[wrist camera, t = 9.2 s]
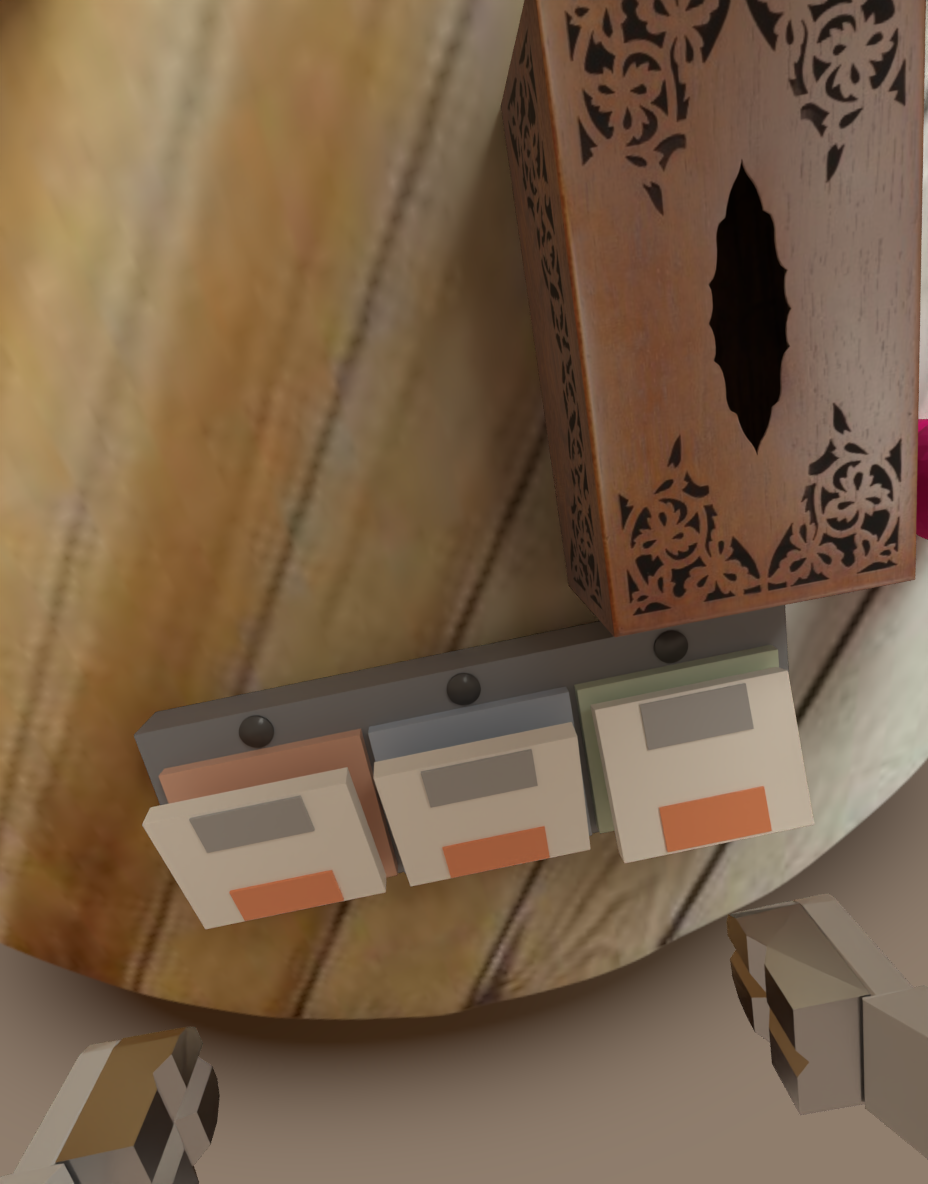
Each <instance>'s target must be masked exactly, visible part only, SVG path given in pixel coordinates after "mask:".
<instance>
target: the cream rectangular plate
mask: <svg viewBox="0 0 928 1184" xmlns="http://www.w3.org/2000/svg"><path fill="white" fill-rule="evenodd" d="M374 781H375V784H376V787H377V790H378V793H379V796H380V799H381V802H382V805H383V808H384V810H385V813H386V816H387V819H388V822H389V825H390V828H391V831H392V834H393V837H394V840H395V843H396V846H397V848H398V851H399V854H400V857H401V860H402V863H403V866H404V869H405V872H406V875H407V878H408V881H409V883H410V886H416V885H420V884H425V883H430V882H435V881H440V880H445V879H450V878H455V877H459V876H464V875H469V874H474V873H479V872H484V871H489V870H494V869H498V868H503V867H508V866H513V865H518V864H523V863H528V862H533V861H537V860H542V859H547V858H552V857H557V856H562V855H567V854H572V853H576V852H581V851H586V850H591V849H590V840H589V832H588V823H587V815H586V806H585V798H584V789H583V781H582V772H581V764H580V755H579V747H578V738H577V734H576V732H575V729H574V727H573V724H572V722H568V723H563V724H559V725H554V726H549V727H544V728H539V729H534V730H529V731H524V732H519V733H515V734H510V735H505V736H500V737H495V738H490V739H485V740H480V741H476V742H471V743H466V744H461V745H456V746H451V747H446V748H441V749H436V750H432V751H427V752H422V753H417V754H412V755H407V756H402V757H397V758H392V759H388V760H383V761H378V762H374Z"/></svg>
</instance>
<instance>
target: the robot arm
mask: <svg viewBox="0 0 928 1184" xmlns="http://www.w3.org/2000/svg"><path fill="white" fill-rule="evenodd" d="M727 933H728V937H729V938H730V940H731V942H732V943H733V945H734V947H735V949H736V951H735V952H734V954H733V955H732V957H731V958H730V962H731V969H732V977H733V981H734V984H735V987H736V991H737V994H738V998H739V1000H740V1002H741V1005H742V1007H743V1009H744V1012H745V1014H746V1016H747V1018H748V1020H749V1022H750V1024H751V1026H752V1027H753V1029H754V1031H755V1033H757V1034H758V1035H760V1036H761V1037H763V1038H764V1039H766V1040H767V1041H769V1042H770V1047H771V1057H772V1065H773V1066H774V1068H775V1070H776V1072H777V1074H778V1076H779V1077H780V1079H781V1081H782V1083H783V1084H784V1087H785V1088H786V1090H787V1092H788V1094H789V1096H790V1098H791V1099H792V1101H793V1103H794V1105H795V1107H796V1108H797V1110H798V1112H799V1114H800V1115H804V1114H809V1113H816V1112H821V1111H827V1110H833V1109H839V1108H845V1107H851V1106H856V1105H862V1104H865V1109H867V1110H868V1111H869V1112H870V1113H872V1114H873V1115H874V1116H875V1117H876V1118H878V1119H879V1120H880V1121H881V1122H883V1123H884V1124H885V1125H886V1126H887V1127H889V1128H890V1129H891V1130H893V1131H894V1132H895V1133H896V1134H897V1135H899V1136H900V1137H901V1138H902V1139H904V1140H905V1141H906V1142H907V1143H908V1144H910V1145H911V1146H912V1147H913V1148H915V1149H916V1150H917V1151H918V1152H919V1153H921V1154H922V1155H923V1156H924V1157H926V1158H927V1159H928V987H926V986H918V987H913V986H912V985H911V984H910V983H909V982H908V981H907V980H906V978H904V976H903V975H902V974H901V973H900V972H899V970H898V969H897V968H896V967H895V966H894V965H893V964H892V962H891V961H890V960H889V959H888V958H887V957H886V956H885V954H884V953H883V952H882V951H881V950H880V949H879V948H878V946H877V945H876V944H875V943H874V942H873V941H872V940H871V938H870V937H869V936H868V935H867V934H866V933H865V932H864V930H863V929H862V928H861V927H860V926H859V925H858V924H857V923H856V921H855V920H854V919H853V918H852V917H851V916H850V914H849V913H848V912H847V911H846V910H845V909H844V908H843V907H842V905H841V904H840V903H839V902H838V901H837V900H836V899H835V898H834V897H833V896H831V895H829V894H827V893H826V894H821V895H816V896H812V897H807V898H802V899H797V900H794V901H787V902H783V903H778V904H773V905H769V906H764V907H760V908H755V909H751V910H746V911H742V912H737V913H732V914H728V918H727ZM202 1045H203V1042H202V1040H201V1038H200V1036H199V1034H198V1032H197V1030H196V1027H184V1028H178V1029H172V1030H167V1031H161V1032H156V1033H150V1034H144V1035H138V1036H133V1037H128V1038H123V1039H119V1040H114V1041H108V1042H103V1043H97V1044H92V1045H90V1046H89V1047H88V1048H87V1049H86V1050H85V1051H83V1052H82V1053H81V1054H80V1055H79V1057H78V1058H77V1060H76V1062H75V1064H74V1066H73V1067H72V1069H71V1071H70V1073H69V1074H68V1076H67V1078H66V1080H65V1082H64V1083H63V1085H62V1087H61V1089H60V1090H59V1092H58V1094H57V1096H56V1097H55V1099H54V1101H53V1103H52V1105H51V1107H50V1108H49V1110H48V1112H47V1114H46V1115H45V1117H44V1119H43V1121H42V1122H41V1124H40V1126H39V1128H38V1130H37V1132H36V1133H35V1135H34V1137H33V1138H32V1140H31V1142H30V1144H29V1146H28V1147H27V1149H26V1151H25V1153H24V1155H23V1156H22V1158H21V1160H20V1162H19V1163H18V1165H17V1167H16V1169H15V1171H14V1172H13V1174H8V1175H4V1176H1V1177H0V1184H199V1181H198V1177H197V1174H196V1171H195V1168H194V1165H195V1164H196V1162H197V1161H198V1160H199V1158H200V1157H201V1156H202V1154H203V1153H204V1152H205V1151H206V1150H207V1148H208V1147H209V1146H210V1144H211V1141H212V1138H213V1134H214V1131H215V1127H216V1124H217V1117H218V1107H219V1088H218V1081H217V1077H216V1074H215V1072H214V1069H213V1066H212V1065H210V1064H209V1063H207V1062H205V1061H204V1060H202V1059H201V1058H199V1057H198V1056H199V1053H200V1051H201V1048H202Z"/></svg>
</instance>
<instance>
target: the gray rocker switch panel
mask: <svg viewBox="0 0 928 1184" xmlns="http://www.w3.org/2000/svg"><path fill="white" fill-rule="evenodd" d="M772 667H779V668H782V669H785V670H788V674H789V669H788V651H787V633H786V615H785V605H781V606H776V607H771V608H765V609H760V610H755V611H750V612H745V613H739V614H734V615H729V616H724V617H719V618H714V619H708V620H703V621H698V622H693V623H688V624H682V625H677V626H672V627H667V628H662V629H656V630H651V631H646V632H641V633H636V634H631V635H625V636H620V637H614V636H613V635H612V634H611V633H610V632H609V631H608V629H607V628H606V627H605V626H604V625H603V624H602V623H601V621H599V622H594V623H589V624H584V625H579V626H574V627H569V628H564V629H560V630H555V631H550V632H545V633H540V634H535V635H530V636H525V637H520V638H516V639H511V640H506V641H501V642H496V643H491V644H486V645H481V646H477V647H472V648H467V649H462V650H457V651H452V652H447V653H442V654H437V655H433V656H428V657H423V658H418V659H413V660H408V661H403V662H398V663H393V664H389V665H384V666H379V667H374V668H369V669H364V670H359V671H354V672H349V673H345V674H340V675H335V676H330V677H325V678H320V679H315V680H310V681H305V682H301V683H296V684H291V685H286V686H281V687H276V688H271V689H266V690H261V691H257V692H252V693H247V694H242V695H237V696H232V697H227V698H222V699H217V700H213V701H208V702H203V703H198V704H193V705H188V706H183V707H178V708H174V709H169V710H164V711H159V712H155V713H154V715H153V716H152V717H151V718H150V719H149V720H148V721H147V722H146V723H145V724H144V725H143V726H142V727H141V728H140V729H139V730H138V731H137V732H136V733H135V734H134V737H135V740H136V743H137V745H138V748H139V750H140V753H141V756H142V758H143V761H144V764H145V766H146V769H147V771H148V774H149V777H150V779H151V782H152V784H153V787H154V790H155V792H156V795H157V798H158V800H159V803H160V805H165V804H170V803H175V802H180V801H184V800H189V799H194V798H199V797H204V796H209V795H214V794H219V793H223V792H228V791H233V790H238V789H243V788H248V787H253V786H258V785H263V784H267V783H272V782H277V781H282V780H287V779H292V778H297V777H302V776H306V775H311V774H316V773H321V772H326V771H331V770H336V769H341V768H346V767H348V770H349V773H350V776H351V778H352V781H353V784H354V787H355V789H356V792H357V795H358V798H359V801H360V803H361V806H362V809H363V812H364V814H365V817H366V820H367V823H368V826H369V828H370V831H371V834H372V837H373V839H374V842H375V845H376V848H377V851H378V853H379V856H380V859H381V862H382V864H383V867H384V870H385V873H386V877H391V876H396V875H398V873H401V872H405V869H404V866H403V863H402V860H401V857H400V854H399V851H398V848H397V846H396V843H395V840H394V837H393V834H392V831H391V828H390V825H389V822H388V819H387V816H386V813H385V810H384V808H383V805H382V802H381V799H380V796H379V793H378V790H377V787H376V784H375V781H374V762H378V761H383V760H388V759H392V758H397V757H402V756H407V755H412V754H417V753H422V752H427V751H432V750H436V749H441V748H446V747H451V746H456V745H461V744H466V743H471V742H476V741H480V740H485V739H490V738H495V737H500V736H505V735H510V734H515V733H519V732H524V731H529V730H534V729H539V728H544V727H549V726H554V725H559V724H563V723H568V722H572V724H573V727H574V729H575V732H576V734H577V738H578V747H579V755H580V764H581V772H582V781H583V789H584V798H585V806H586V815H587V823H588V832H589V836H591V835H592V833H596V832H599V833H600V834H601V833H606V832H611V831H615V830H614V825H613V820H612V815H611V810H610V804H609V799H608V794H607V789H606V784H605V779H604V773H603V768H602V763H601V758H600V753H599V748H598V743H597V737H596V732H595V727H594V722H593V717H592V712H591V706H590V705H592V704H597V703H601V702H606V701H611V700H616V699H621V698H626V697H631V696H636V695H641V694H645V693H650V692H655V691H660V690H665V689H670V688H675V687H680V686H684V685H689V684H694V683H699V682H704V681H709V680H714V679H719V678H724V677H728V676H733V675H738V674H743V673H748V672H753V671H758V670H763V669H768V668H772ZM405 874H406V872H405Z"/></svg>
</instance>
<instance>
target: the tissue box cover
mask: <svg viewBox="0 0 928 1184" xmlns="http://www.w3.org/2000/svg"><path fill="white" fill-rule="evenodd" d="M925 13H926V0H525V2H524V6H523V10H522V15H521V19H520V24H519V28H518V33H517V37H516V41H515V46H514V50H513V55H512V59H511V64H510V68H509V72H508V77H507V81H506V86H505V90H504V95H503V99H502V103H501V111H502V118H503V125H504V132H505V139H506V146H507V153H508V160H509V167H510V174H511V181H512V188H513V195H514V202H515V209H516V217H517V224H518V231H519V238H520V245H521V252H522V259H523V266H524V273H525V280H526V287H527V294H528V301H529V308H530V315H531V322H532V329H533V337H534V344H535V351H536V358H537V365H538V372H539V379H540V386H541V393H542V400H543V407H544V414H545V421H546V428H547V435H548V442H549V449H550V457H551V464H552V471H553V478H554V485H555V492H556V499H557V506H558V513H559V520H560V527H561V534H562V541H563V548H564V555H565V562H566V569H567V577H568V584H569V586H570V587H571V589H572V590H573V591H574V592H575V593H576V594H577V595H578V597H579V598H580V599H581V600H582V601H583V602H584V603H585V604H586V606H587V607H588V608H589V609H590V610H591V611H592V612H593V614H594V615H595V616H596V617H597V618H598V619H599V620H600V621H601V623H602V624H603V625H604V626H605V627H606V628H607V629H608V631H609V632H610V633H611V634H612V635H613V636H614V637H620V636H625V635H631V634H636V633H641V632H646V631H651V630H656V629H662V628H667V627H672V626H677V625H682V624H688V623H693V622H698V621H703V620H708V619H714V618H719V617H724V616H729V615H734V614H739V613H745V612H750V611H755V610H760V609H765V608H771V607H776V606H781V605H786V604H791V603H797V602H802V601H807V600H812V599H817V598H822V597H828V596H833V595H838V594H843V593H848V592H854V591H859V590H864V589H869V588H874V587H879V586H885V585H890V584H895V583H900V582H905V581H911V580H915V567H916V512H917V457H918V401H919V346H920V290H921V235H922V179H923V124H924V69H925Z"/></svg>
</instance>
